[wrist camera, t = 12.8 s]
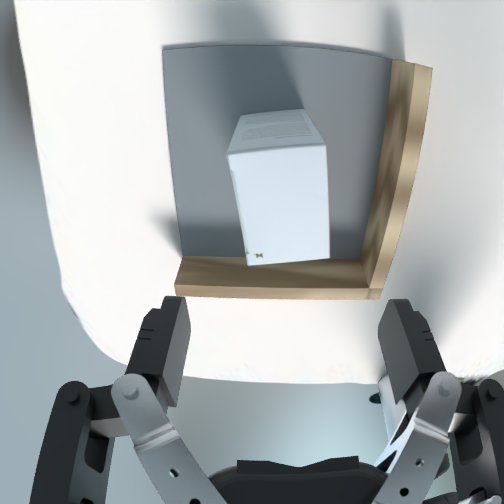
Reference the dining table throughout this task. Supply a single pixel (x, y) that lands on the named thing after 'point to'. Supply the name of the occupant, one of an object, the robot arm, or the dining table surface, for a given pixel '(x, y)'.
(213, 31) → the dining table surface
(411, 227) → the dining table surface
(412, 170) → the corner walls
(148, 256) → the dining table surface
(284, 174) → the small box
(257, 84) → the mat
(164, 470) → the robot arm
